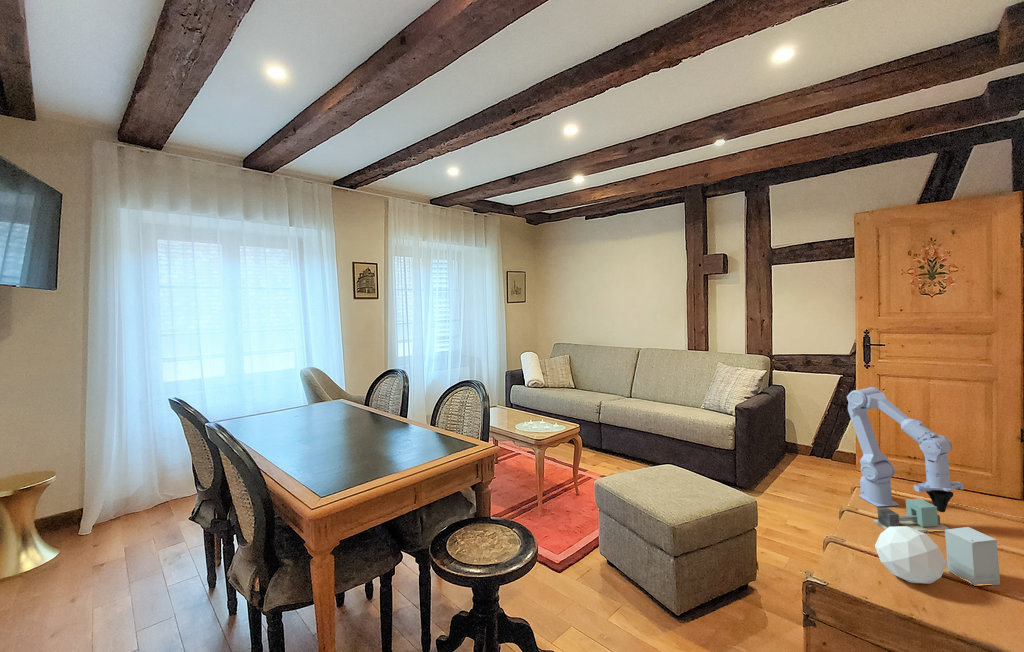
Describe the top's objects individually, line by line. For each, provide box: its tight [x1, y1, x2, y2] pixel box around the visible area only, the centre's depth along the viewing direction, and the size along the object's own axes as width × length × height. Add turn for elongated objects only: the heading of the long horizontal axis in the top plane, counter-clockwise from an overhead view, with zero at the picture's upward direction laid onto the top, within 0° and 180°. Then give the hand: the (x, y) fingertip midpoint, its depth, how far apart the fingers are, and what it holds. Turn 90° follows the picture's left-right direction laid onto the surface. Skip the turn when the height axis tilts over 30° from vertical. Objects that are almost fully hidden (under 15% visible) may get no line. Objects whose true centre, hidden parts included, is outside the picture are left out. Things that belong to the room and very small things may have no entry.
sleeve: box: [905, 498, 939, 527], centre depth 144 cm, size 6×5×6 cm
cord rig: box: [873, 507, 950, 533], centre depth 144 cm, size 8×18×6 cm, turn 86°
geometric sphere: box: [874, 526, 948, 585], centre depth 120 cm, size 14×15×15 cm
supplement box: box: [944, 526, 1001, 587], centre depth 117 cm, size 7×7×13 cm
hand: (940, 510), depth 143 cm, fingers closed
